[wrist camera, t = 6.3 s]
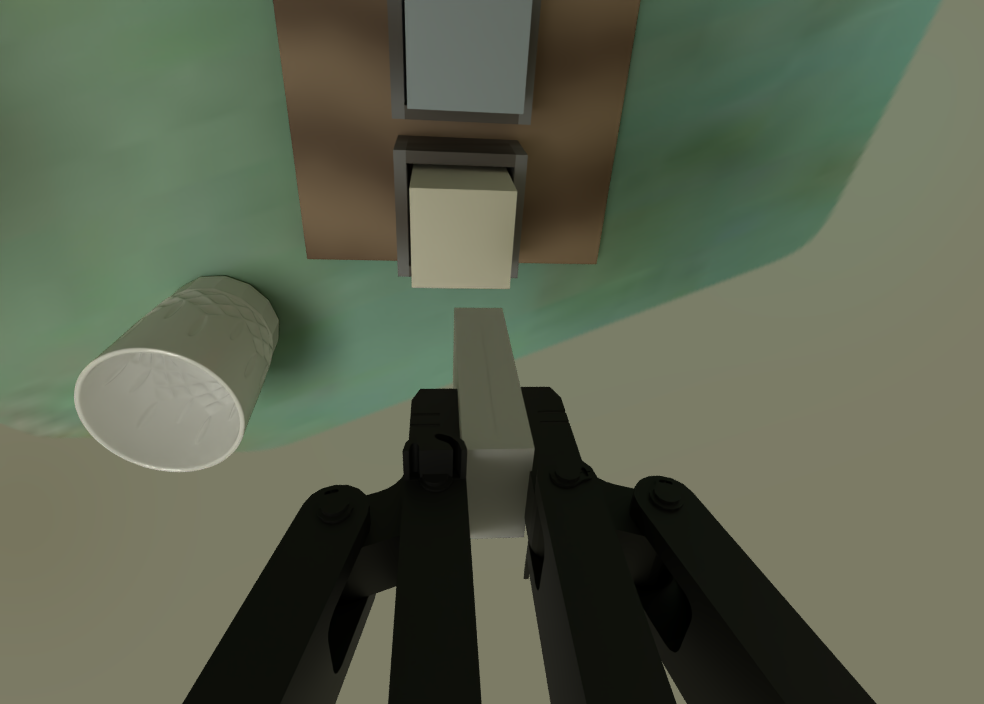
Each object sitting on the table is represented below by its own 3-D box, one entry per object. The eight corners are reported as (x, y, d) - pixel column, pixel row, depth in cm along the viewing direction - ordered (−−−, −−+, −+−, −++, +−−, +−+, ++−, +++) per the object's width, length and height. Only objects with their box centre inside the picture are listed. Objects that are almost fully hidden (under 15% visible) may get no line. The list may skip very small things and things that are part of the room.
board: (237, -330, 21) (184, -424, 17) (677, -274, 23) (735, -345, 18) (311, 251, 33) (292, 286, 29) (591, 257, 35) (614, 290, 31)
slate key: (409, -26, 24) (403, -36, 19) (517, -18, 24) (534, -26, 20) (412, 94, 26) (407, 108, 22) (509, 99, 27) (523, 114, 22)
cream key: (413, 162, 28) (409, 187, 24) (505, 165, 28) (517, 191, 24) (415, 250, 30) (411, 287, 26) (499, 252, 31) (509, 288, 27)
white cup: (303, 292, 35) (260, 379, 26) (273, 384, 38) (226, 487, 30) (173, 246, 33) (80, 326, 24) (154, 349, 36) (67, 449, 28)
